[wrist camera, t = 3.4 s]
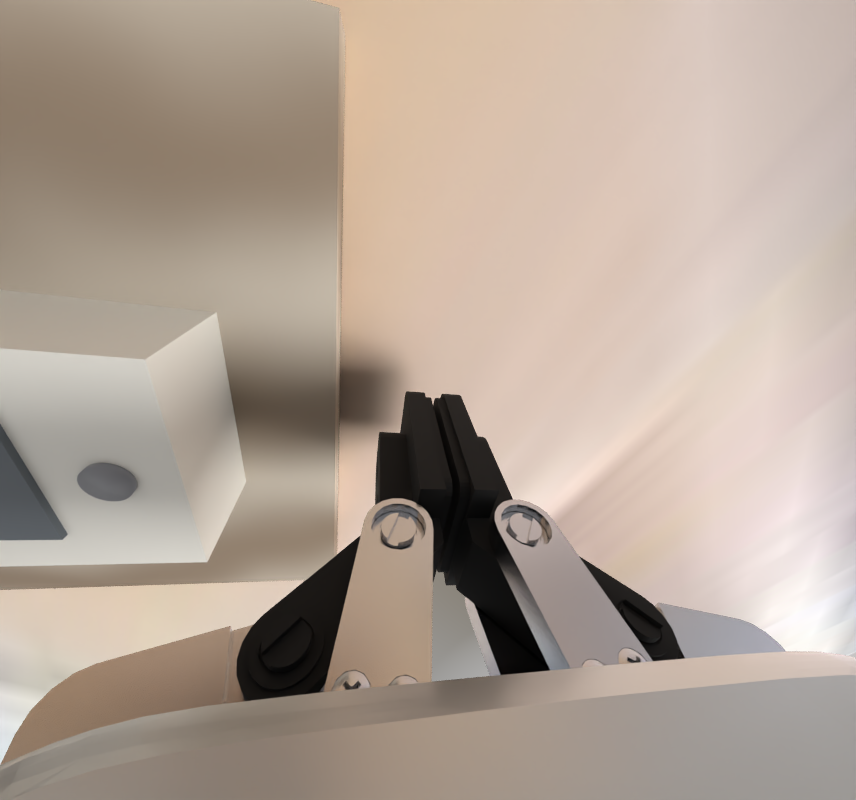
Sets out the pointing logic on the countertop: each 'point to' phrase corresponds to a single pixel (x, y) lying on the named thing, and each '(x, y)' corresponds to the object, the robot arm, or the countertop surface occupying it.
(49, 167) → the subfloor panel
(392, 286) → the countertop surface
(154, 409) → the thermostat
